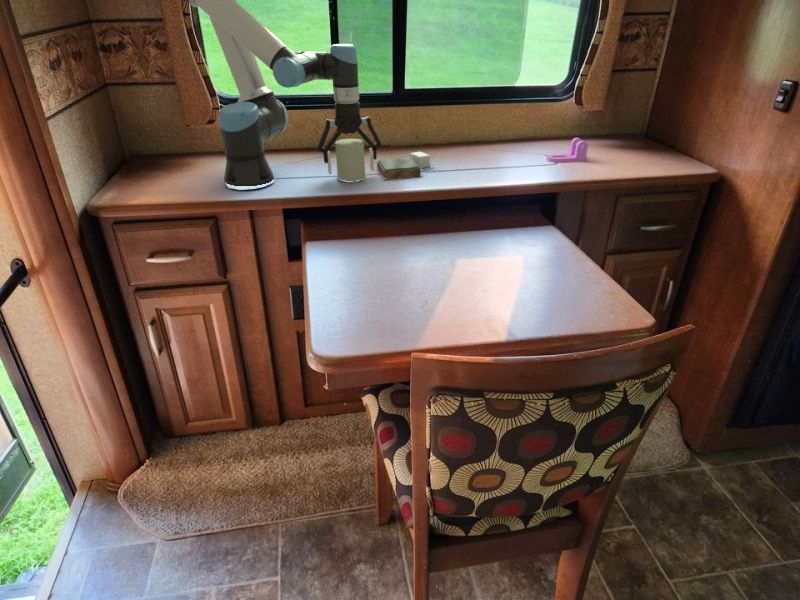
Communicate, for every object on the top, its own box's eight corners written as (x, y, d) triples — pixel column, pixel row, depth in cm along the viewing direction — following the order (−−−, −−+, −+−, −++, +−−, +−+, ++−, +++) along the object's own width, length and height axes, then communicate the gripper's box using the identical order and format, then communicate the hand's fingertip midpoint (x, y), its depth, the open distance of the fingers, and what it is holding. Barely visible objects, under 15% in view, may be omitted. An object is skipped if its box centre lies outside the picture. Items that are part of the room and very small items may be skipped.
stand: (384, 179, 166) (384, 170, 165) (377, 168, 176) (376, 159, 175) (420, 176, 169) (420, 167, 167) (411, 165, 179) (411, 157, 177)
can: (352, 184, 162) (350, 145, 156) (331, 179, 167) (328, 141, 161) (371, 177, 168) (370, 139, 162) (350, 172, 173) (348, 135, 167)
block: (419, 168, 176) (419, 157, 174) (410, 164, 181) (410, 153, 179) (429, 167, 178) (429, 155, 176) (420, 162, 182) (420, 151, 180)
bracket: (578, 157, 186) (581, 137, 183) (585, 161, 181) (588, 141, 178) (543, 158, 185) (546, 138, 181) (549, 163, 180) (552, 142, 176)
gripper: (306, 106, 150) (313, 177, 161) (390, 101, 155) (391, 171, 166) (304, 101, 157) (311, 170, 167) (385, 97, 161) (386, 164, 172)
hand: (351, 171), depth 167 cm, fingers open, 13 cm apart
